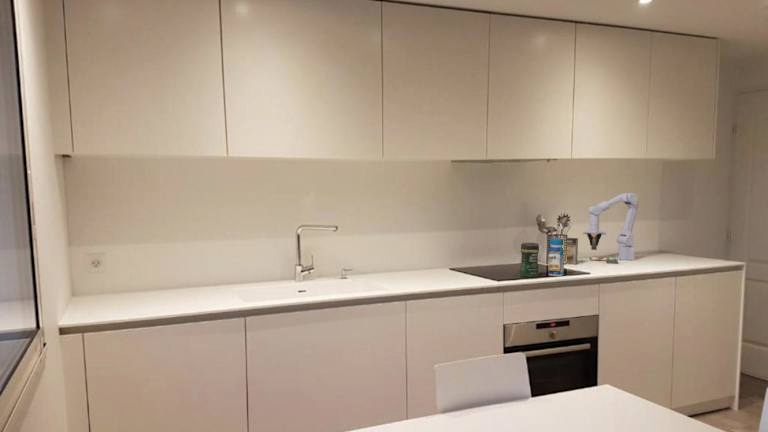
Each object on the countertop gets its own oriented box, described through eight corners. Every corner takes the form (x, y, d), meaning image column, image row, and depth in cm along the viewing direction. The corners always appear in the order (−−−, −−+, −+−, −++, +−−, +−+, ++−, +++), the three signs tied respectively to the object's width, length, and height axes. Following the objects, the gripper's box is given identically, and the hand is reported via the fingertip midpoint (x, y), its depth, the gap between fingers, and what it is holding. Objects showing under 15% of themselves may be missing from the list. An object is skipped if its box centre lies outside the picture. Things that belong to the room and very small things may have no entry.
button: (614, 261, 332) (614, 257, 332) (615, 261, 329) (615, 258, 329) (608, 260, 333) (608, 257, 333) (609, 261, 330) (609, 257, 330)
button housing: (616, 262, 333) (616, 258, 333) (617, 263, 327) (617, 260, 327) (606, 261, 335) (606, 258, 335) (607, 263, 329) (607, 259, 329)
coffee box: (560, 263, 330) (560, 238, 329) (562, 262, 335) (563, 237, 334) (575, 264, 325) (576, 239, 324) (577, 263, 330) (578, 238, 329)
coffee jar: (525, 278, 281) (525, 243, 280) (517, 275, 289) (518, 242, 288) (541, 277, 284) (541, 243, 283) (533, 274, 291) (533, 241, 290)
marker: (596, 249, 344) (596, 234, 344) (597, 249, 341) (597, 235, 340) (590, 249, 345) (591, 234, 345) (591, 249, 342) (591, 235, 341)
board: (608, 259, 346) (608, 257, 346) (610, 261, 337) (610, 259, 337) (589, 258, 350) (589, 257, 350) (590, 260, 340) (590, 259, 340)
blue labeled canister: (566, 275, 287) (567, 239, 285) (552, 276, 285) (553, 240, 284) (558, 273, 295) (559, 238, 294) (545, 273, 293) (545, 238, 292)
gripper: (583, 225, 340) (582, 245, 341) (607, 225, 336) (606, 246, 337) (582, 224, 347) (581, 244, 348) (605, 224, 343) (605, 245, 344)
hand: (594, 245), depth 343 cm, fingers closed on marker, 3 cm apart
